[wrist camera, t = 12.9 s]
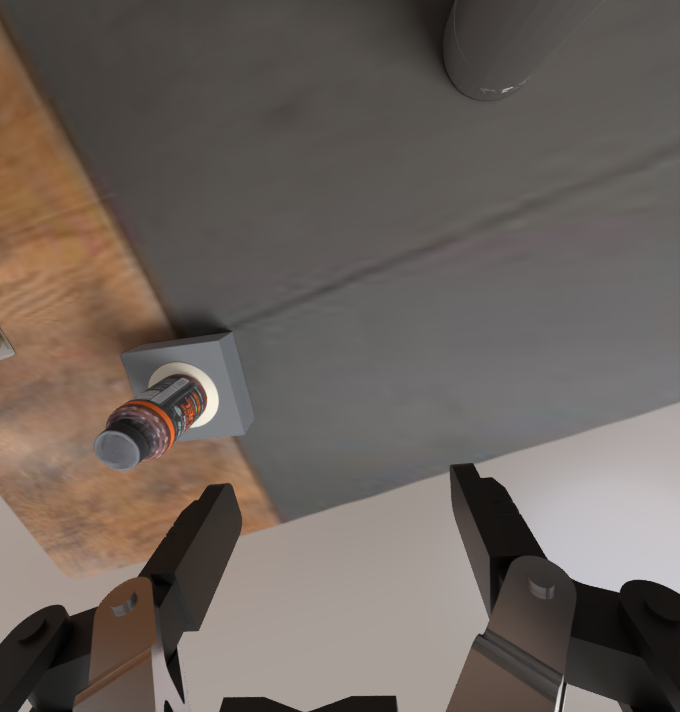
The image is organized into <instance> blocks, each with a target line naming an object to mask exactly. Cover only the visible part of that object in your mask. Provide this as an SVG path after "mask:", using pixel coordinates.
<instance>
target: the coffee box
mask: <svg viewBox="0 0 680 712" xmlns="http://www.w3.org/2000/svg"><path fill="white" fill-rule="evenodd" d="M13 355H15V352H14V350H13V348H12V347H11V345H10V343H9V342H8V340H7V338H6V337H5V335H4V333H3V332H2V330H1V329H0V360H2V359H5V358H8V357H10V356H13Z"/></svg>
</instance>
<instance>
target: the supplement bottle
mask: <svg viewBox="0 0 680 712" xmlns="http://www.w3.org/2000/svg"><path fill="white" fill-rule="evenodd" d="M206 406H207V395H206V392H205V390H204V388H203V386H202V385H201V384H200V382H198V381H197V380H196V379H194V378H192V377H190V376H188V375H184V374H173V375H170V376H168V377H166V378H164V379H162V380H161V381H159V382H158V383H156V384H154V385H153V386H151V387H150V388H148V389H147V390H145V391H144V392H142V393H141V394H139V395H137V396H136V397H134V398H133V399H131V400H130V401H128V402H126V403H125V404H124V405H122V406H120V407H119V408H118V409H116V410H115V411H114V412H113V413H112V414H111V415H110V416H109V418H108V420H107V424H106V430H105V431H103V432H102V433H100V434H99V435H98V436H97V438H96V440H95V442H94V450H95V453H96V455H97V457H98V458H99V459H100V461H101V462H103V464H105V465H106V466H108V467H110V468H112V469H115V470H120V471H125V470H130V469H132V468H134V467H135V466H136V465H137V464H138V463H139V462H141V461H142V462H144V461H151V460H154V459H156V458H158V457H160V456H161V455H163V454H164V453H165V452H166V451H167V450H168V449H169V448H170V447H171V446H172V445H173V444H174V443H175V442H176V441H177V440H178V439H179V438H180V436H181V435H183V433H184V432H185V431H186V430H187V429H188V428H189V427H190V426H191V425H192V424H193V423H194V422H195V421H196V420H197V419H198V418H199V417H200V416H201V415H202V414H203V412H204V411H205V409H206Z"/></svg>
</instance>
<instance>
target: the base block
mask: <svg viewBox="0 0 680 712" xmlns="http://www.w3.org/2000/svg"><path fill="white" fill-rule="evenodd" d="M120 357H121V359H122V362H123V365H124V367H125V370H126V373H127V375H128V378H129V380H130V383H131V386H132V388H133V391H134V394H135V396H137V395H139V394H141V393H142V392H144V391H145V390H147V389H148V388H150V387H151V386H153V385H154V384H156V383H158V382H159V381H161V380H162V379H164V378H166V377H168V376H170V375H173V374H184V375H188V376H190V377H192V378H194V379H196V380H197V381H198V382H200V384H201V385H202V386H203V388H204V390H205V392H206V395H207V406H206V409H205V411H204V412H203V414H202V415H201V416H200V417H199V418H198V419H197V420H196V421H195V422H194V423H193V424H192V425H191V426H190V427H189V428H188V429H187V430H186V431H185V432H184V433H183V435H181V436H180V438H179V439H178V440H177V441H176V442H178V441H188V440H198V439H207V438H217V437H227V436H237V435H245V433H246V432H247V430H248V429H249V427H250V425H251V424H252V422H253V421H254V419H255V417H254V413H253V409H252V405H251V401H250V397H249V394H248V390H247V386H246V382H245V378H244V375H243V371H242V367H241V363H240V359H239V355H238V352H237V348H236V344H235V340H234V336H233V333H232V332H226V333H219V334H212V335H205V336H198V337H190V338H183V339H176V340H169V341H162V342H154V343H147V344H141V345H139V346H137V347H134V348H132V349H130V350H128V351H125V352H123V353H121V354H120Z"/></svg>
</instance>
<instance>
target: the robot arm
mask: <svg viewBox="0 0 680 712" xmlns="http://www.w3.org/2000/svg"><path fill="white" fill-rule="evenodd" d="M606 2H607V0H455V2H454V4H453V7H452V10H451V12H450V15H449V18H448V21H447V24H446V27H445V31H444V38H443V58H444V63H445V67H446V70H447V73H448V75H449V77H450V79H451V81H452V82H453V84H454V85H455V86H456V88H457V89H458V90H460V91H461V92H462V93H463V94H465V95H466V96H468V97H471V98H473V99H476V100H481V101H492V100H497V99H501V98H504V97H506V96H508V95H510V94H512V93H513V92H515V91H517V90H518V89H519V88H520V87H521V86H523V85H524V84H525V83H526V82H527V81H528V80H529V79H530V78H531V77H532V76H533V75H534V74H535V73H536V72H537V71H538V70H539V69H540V68H541V67H542V66H543V65H544V64H545V63H546V62H547V61H548V60H549V59H550V58H551V57H552V56H553V55H554V54H555V53H556V52H557V51H558V50H559V49H560V48H561V47H562V46H563V45H564V44H565V43H566V42H567V41H568V40H569V39H570V38H571V37H572V36H573V35H574V34H575V33H576V32H577V31H578V30H579V29H580V28H581V27H582V26H583V25H584V24H585V23H586V22H587V21H588V20H589V19H590V18H591V17H592V16H593V15H594V14H595V13H596V12H597V11H598V10H599V9H600V8H601V7H602V6H603V5H604V4H605V3H606ZM450 481H451V500H452V507H453V512H454V517H455V520H456V523H457V526H458V529H459V532H460V535H461V538H462V541H463V543H464V546H465V549H466V552H467V555H468V558H469V561H470V564H471V567H472V570H473V573H474V576H475V579H476V581H477V584H478V587H479V590H480V593H481V596H482V599H483V602H484V605H485V608H486V611H487V614H488V617H489V622H488V625H487V628H486V630H485V632H484V634H483V635H481V634H478V635H477V636H476V638H475V640H474V642H473V644H472V646H471V649H470V651H469V654H468V656H467V659H466V661H465V664H464V667H463V669H462V672H461V674H460V677H459V679H458V682H457V684H456V687H455V689H454V692H453V694H452V697H451V699H450V702H449V705H448V707H447V710H446V712H563V710H564V703H565V697H566V691H567V685H568V684H570V685H573V686H576V687H579V688H582V689H585V690H587V691H590V692H593V693H596V694H599V695H601V696H604V697H607V698H610V699H613V700H616V701H618V703H619V705H620V707H621V709H622V711H623V712H680V594H679V593H677V592H675V591H673V590H672V589H670V588H668V587H665V586H663V585H661V584H658V583H655V582H651V581H646V580H632V581H628V582H626V583H625V584H624V585H623V586H622V588H621V590H620V593H619V592H614V591H610V590H606V589H602V588H598V587H593V586H589V585H586V584H582V583H580V582H577V581H575V580H573V579H571V578H570V577H569V576H568V575H567V574H566V573H565V571H563V569H561V568H560V567H559V566H557V565H556V564H554V563H553V562H551V561H549V560H548V559H547V557H546V556H545V554H544V553H543V551H542V549H541V548H540V546H539V544H538V542H537V541H536V539H535V537H534V536H533V534H532V532H531V531H530V529H529V527H528V526H527V524H526V522H525V521H524V519H523V518H522V516H521V514H519V511H518V509H517V507H516V505H515V504H514V503H513V501H512V499H511V497H510V495H509V494H508V492H507V490H506V489H505V487H503V486H502V485H501V484H500V483H498V482H497V481H496V480H495V479H493V478H491V477H490V478H480V476H479V474H478V472H477V470H476V468H475V466H474V464H473V463H466V464H454V465H450ZM241 528H242V516H241V512H240V509H239V506H238V503H237V499H236V496H235V493H234V490H233V487H232V485H231V484H230V483H225V484H213V485H209V486H207V488H206V489H205V490H204V492H203V494H202V495H201V497H200V498H199V500H195V501H193V502H192V503H191V504H190V505H189V506H188V507H187V508H186V509H184V510H183V511H182V512H181V514H180V515H179V517H178V518H177V520H176V521H175V523H174V526H173V527H171V529H170V530H169V531H168V533H167V534H166V537H164V539H163V540H162V542H161V543H160V545H159V546H158V548H157V549H156V551H155V552H154V553H153V555H152V556H151V558H150V559H149V561H148V562H147V564H146V565H145V567H144V568H143V570H142V571H141V573H140V574H139V575H138V577H136V578H132V579H129V580H127V581H125V582H123V583H122V584H120V585H119V586H117V587H116V588H114V589H113V590H112V591H111V592H110V593H109V594H108V595H107V596H106V597H105V598H104V599H103V600H102V602H101V603H100V604H99V606H98V607H95V608H92V609H89V610H86V611H84V612H81V613H78V614H75V615H72V616H69V615H68V613H67V611H66V609H65V608H64V607H63V606H62V605H51V606H48V607H45V608H43V609H41V610H39V611H37V612H35V613H34V614H32V615H30V616H29V617H27V618H26V619H25V620H24V621H22V622H21V623H20V624H19V625H17V626H16V627H15V628H14V629H13V630H12V631H11V632H10V634H8V636H7V637H6V638H5V639H4V640H3V641H2V643H1V644H0V712H18V711H19V709H20V708H21V706H22V705H23V704H24V702H25V701H26V699H28V701H29V702H30V703H31V705H32V706H33V707H32V708H31V710H30V711H29V712H191V710H190V704H189V698H188V691H187V685H186V679H185V672H184V666H183V660H182V654H181V648H180V645H179V640H180V638H181V636H182V634H183V632H186V631H199V629H200V627H201V624H202V622H203V620H204V617H205V615H206V612H207V610H208V608H209V605H210V603H211V601H212V598H213V596H214V594H215V591H216V589H217V587H218V584H219V582H220V580H221V577H222V575H223V573H224V570H225V568H226V566H227V563H228V561H229V559H230V556H231V554H232V552H233V549H234V547H235V544H236V542H237V540H238V537H239V535H240V532H241ZM219 712H302V711H299V710H296V709H294V708H291V707H289V706H286V705H283V704H281V703H278V702H276V701H273V700H270V699H268V698H265V697H226V698H223V701H222V705H221V708H220V711H219ZM309 712H398V706H397V699H396V696H351V697H348V698H345V699H342V700H340V701H337V702H334V703H332V704H329V705H326V706H323V707H320V708H318V709H315V710H312V711H309Z"/></svg>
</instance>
